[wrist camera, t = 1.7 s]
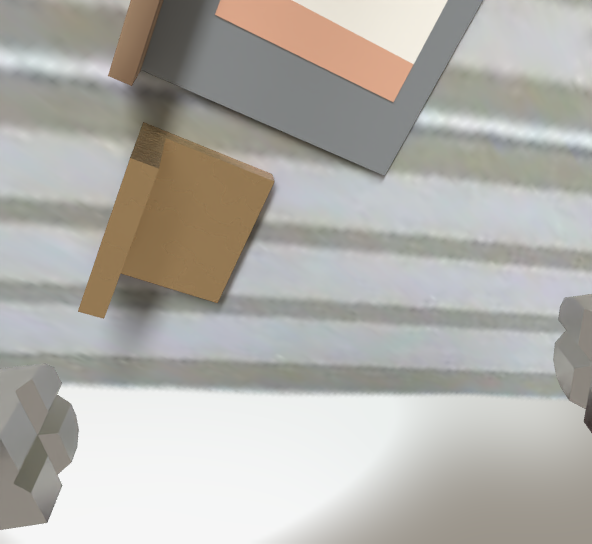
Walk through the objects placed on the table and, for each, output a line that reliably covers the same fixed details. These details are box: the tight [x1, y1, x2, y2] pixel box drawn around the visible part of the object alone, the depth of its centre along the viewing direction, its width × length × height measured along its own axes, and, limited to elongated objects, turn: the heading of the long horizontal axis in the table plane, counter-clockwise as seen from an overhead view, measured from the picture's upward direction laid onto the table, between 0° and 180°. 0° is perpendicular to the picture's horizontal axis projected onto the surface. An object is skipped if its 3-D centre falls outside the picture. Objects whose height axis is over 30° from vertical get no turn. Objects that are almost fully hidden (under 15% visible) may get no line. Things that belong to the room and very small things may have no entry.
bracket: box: [78, 122, 274, 319], centre depth 34 cm, size 9×10×7 cm
